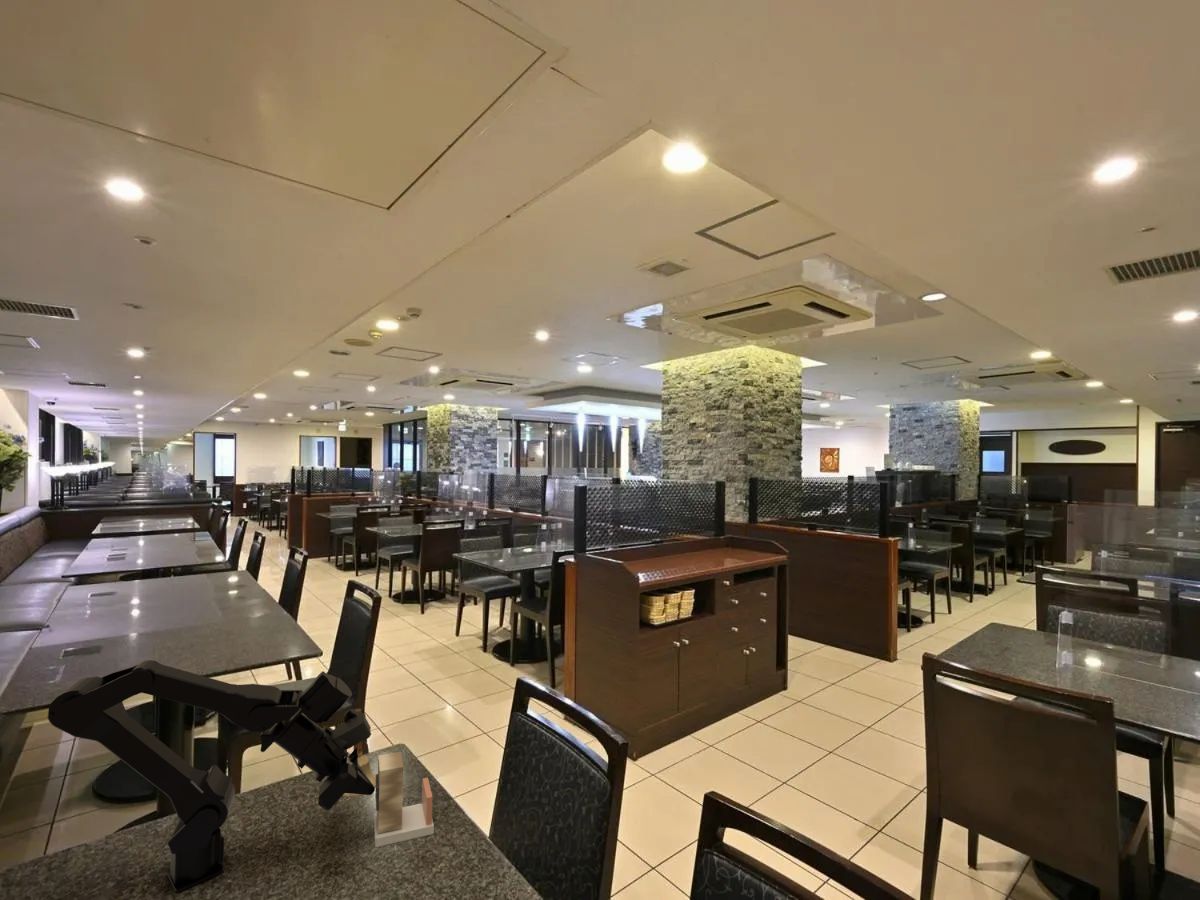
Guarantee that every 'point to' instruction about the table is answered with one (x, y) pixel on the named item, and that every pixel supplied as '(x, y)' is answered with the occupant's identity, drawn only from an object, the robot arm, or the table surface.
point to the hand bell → (363, 766)
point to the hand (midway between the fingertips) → (373, 791)
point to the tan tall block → (389, 792)
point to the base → (410, 821)
